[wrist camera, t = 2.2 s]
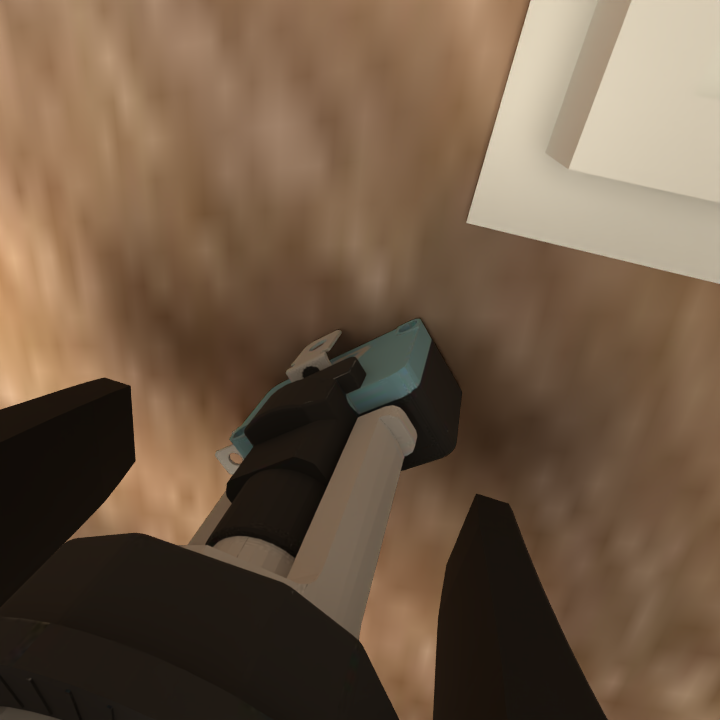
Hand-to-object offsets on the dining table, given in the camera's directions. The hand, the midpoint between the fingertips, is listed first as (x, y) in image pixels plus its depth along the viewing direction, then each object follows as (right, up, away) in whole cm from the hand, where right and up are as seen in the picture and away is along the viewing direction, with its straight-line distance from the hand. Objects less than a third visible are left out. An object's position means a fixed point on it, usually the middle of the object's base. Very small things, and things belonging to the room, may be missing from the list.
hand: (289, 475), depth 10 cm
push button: (+1, +2, +3) cm, 4 cm away
